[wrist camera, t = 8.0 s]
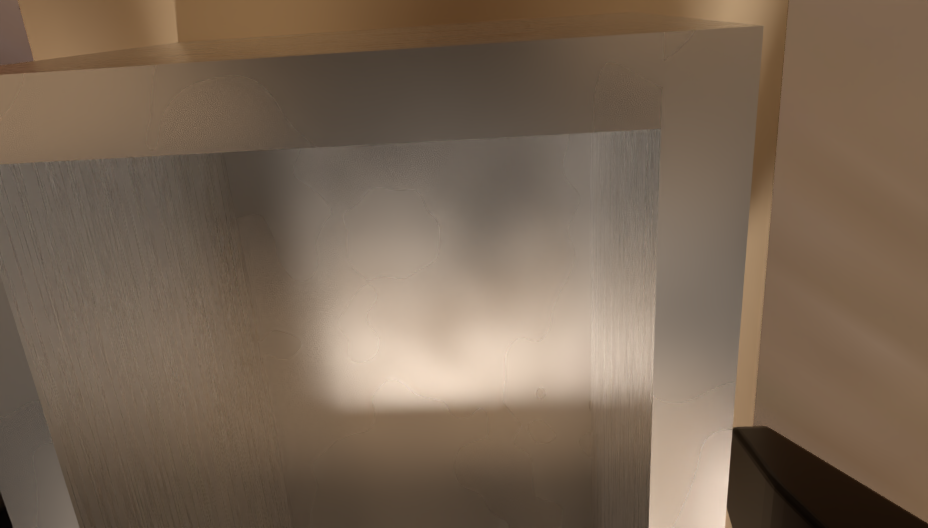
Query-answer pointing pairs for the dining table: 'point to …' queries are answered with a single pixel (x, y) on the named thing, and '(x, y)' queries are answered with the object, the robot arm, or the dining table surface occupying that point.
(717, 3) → the stand
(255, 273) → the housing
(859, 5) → the dining table surface
